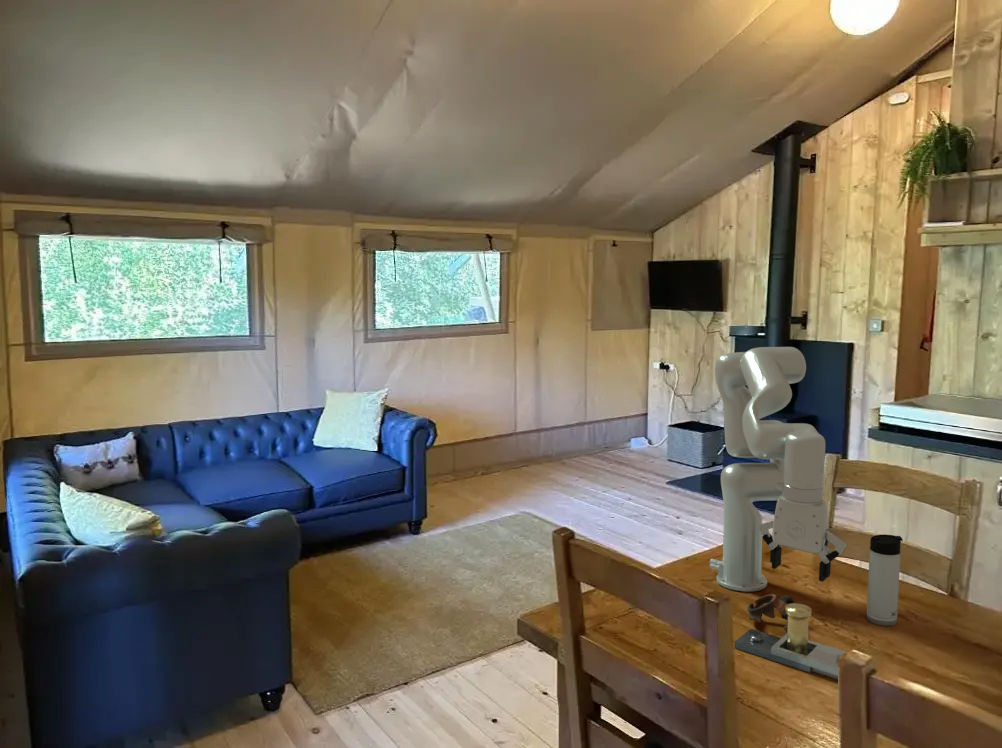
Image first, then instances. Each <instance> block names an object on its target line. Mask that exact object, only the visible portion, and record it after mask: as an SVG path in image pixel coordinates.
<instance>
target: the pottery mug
mask: <svg viewBox="0 0 1002 748" xmlns="http://www.w3.org/2000/svg"><path fill="white" fill-rule="evenodd" d="M754 603H755V605H754ZM754 603H752V602H751V603H750V604H749V605H747V607H746V608H747V611H748V613H749V614H748V619H749V620H750V621H757V622H758V623H760V624H762V617H763V616H765V617H768V618H770V619H775V618H776V615H775V609H776V610H777V611H778V612H779V613H780V616H781V619H784V620H786V621H788V614H786V605H788V604H791V603H796V602H795V600H794V599H793V597H791V596H790V595H782V596H781V597H779V598H778V597H777V594H774V593H770V594H765V595H763V596H760V597H759V598H757V599H755V600H754ZM783 629H784V632H785V634H787V632H788V623H787V624H786V625H784V626H783Z"/></svg>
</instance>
